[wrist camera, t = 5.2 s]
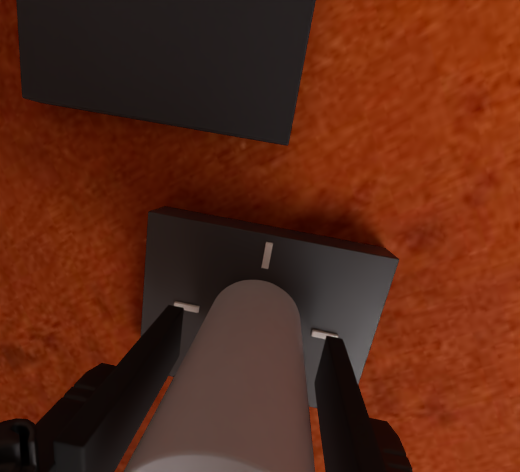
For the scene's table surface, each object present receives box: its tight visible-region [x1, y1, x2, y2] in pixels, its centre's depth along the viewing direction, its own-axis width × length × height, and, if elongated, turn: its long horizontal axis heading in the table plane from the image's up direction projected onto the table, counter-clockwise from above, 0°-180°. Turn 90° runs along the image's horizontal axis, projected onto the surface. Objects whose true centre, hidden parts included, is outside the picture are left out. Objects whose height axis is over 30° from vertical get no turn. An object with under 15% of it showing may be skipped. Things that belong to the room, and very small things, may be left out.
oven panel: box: [141, 206, 399, 408], centre depth 16 cm, size 13×10×2 cm
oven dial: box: [124, 280, 315, 472], centre depth 10 cm, size 5×5×9 cm
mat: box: [17, 0, 316, 145], centre depth 13 cm, size 14×9×1 cm, turn 80°
